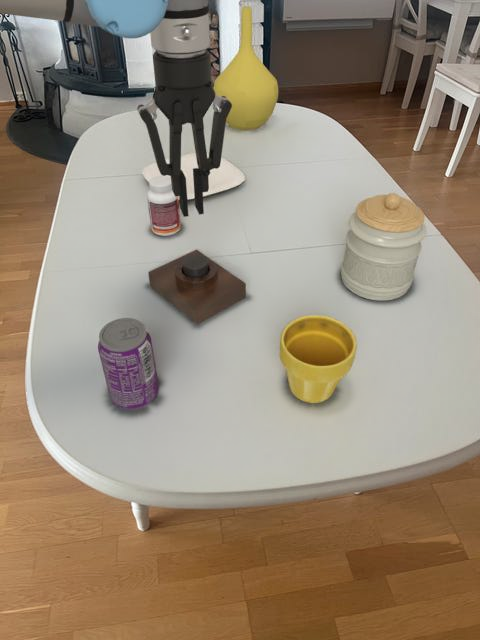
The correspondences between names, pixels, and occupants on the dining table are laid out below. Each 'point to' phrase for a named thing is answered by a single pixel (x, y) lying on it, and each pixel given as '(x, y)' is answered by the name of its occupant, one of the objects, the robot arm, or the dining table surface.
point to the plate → (218, 178)
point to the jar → (383, 247)
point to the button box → (197, 288)
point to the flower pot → (316, 355)
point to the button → (195, 266)
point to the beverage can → (128, 363)
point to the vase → (247, 83)
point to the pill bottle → (163, 206)
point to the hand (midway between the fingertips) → (191, 211)
